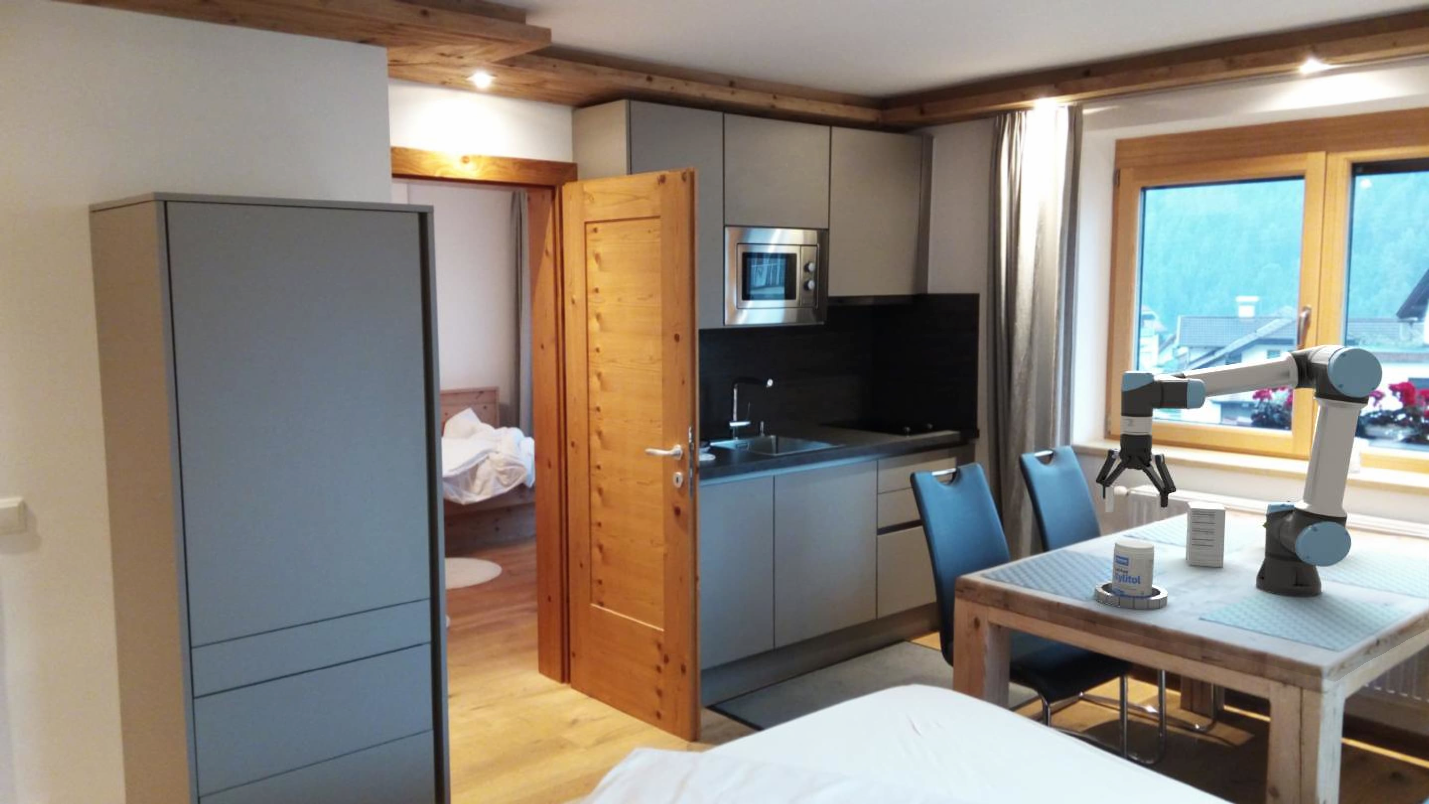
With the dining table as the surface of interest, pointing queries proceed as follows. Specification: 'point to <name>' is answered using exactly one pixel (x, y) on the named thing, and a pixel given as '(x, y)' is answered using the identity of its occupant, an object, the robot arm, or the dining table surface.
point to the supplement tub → (1133, 568)
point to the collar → (1134, 603)
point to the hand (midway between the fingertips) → (1134, 515)
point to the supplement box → (1205, 534)
